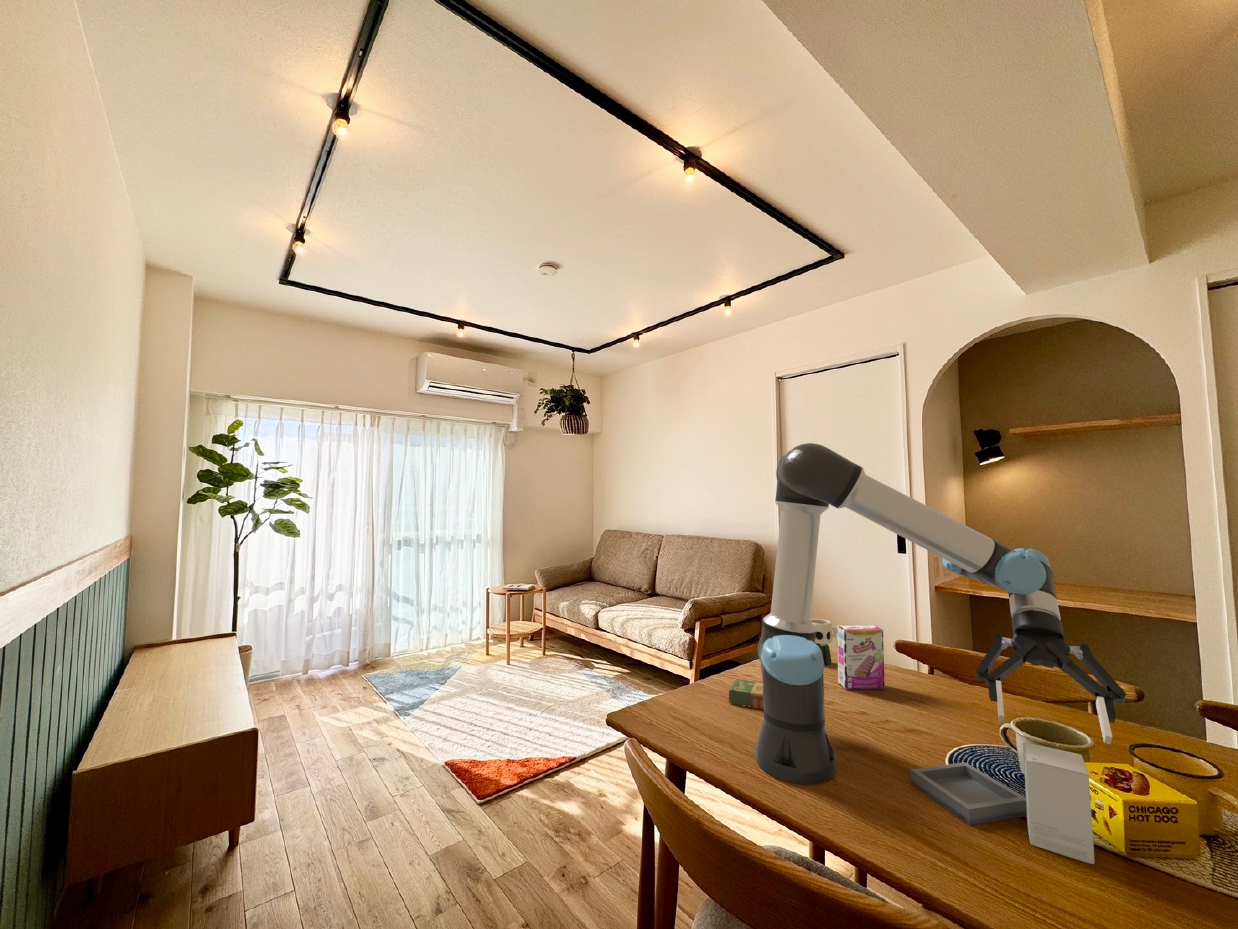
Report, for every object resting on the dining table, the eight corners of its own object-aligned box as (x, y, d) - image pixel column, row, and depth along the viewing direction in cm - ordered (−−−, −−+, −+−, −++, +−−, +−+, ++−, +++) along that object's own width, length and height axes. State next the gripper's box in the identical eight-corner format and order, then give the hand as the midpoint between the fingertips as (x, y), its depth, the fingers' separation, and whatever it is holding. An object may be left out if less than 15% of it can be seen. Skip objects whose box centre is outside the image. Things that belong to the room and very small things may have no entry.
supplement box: (1096, 867, 71) (1090, 775, 72) (1029, 845, 75) (1023, 758, 76) (1088, 838, 77) (1083, 753, 78) (1026, 820, 81) (1022, 740, 82)
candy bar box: (846, 690, 136) (844, 629, 137) (837, 684, 141) (835, 625, 142) (886, 690, 136) (883, 629, 137) (876, 683, 141) (874, 624, 142)
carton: (794, 716, 121) (793, 698, 121) (728, 705, 128) (728, 688, 128) (797, 703, 128) (797, 686, 128) (735, 693, 135) (735, 677, 135)
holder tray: (969, 825, 80) (968, 809, 80) (911, 783, 92) (910, 769, 92) (1029, 815, 82) (1029, 799, 82) (965, 775, 94) (964, 762, 94)
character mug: (808, 667, 155) (807, 624, 156) (799, 659, 162) (798, 619, 163) (843, 666, 155) (841, 623, 156) (832, 658, 162) (830, 618, 163)
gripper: (1122, 640, 92) (1154, 760, 79) (959, 622, 106) (963, 721, 93) (1127, 616, 88) (1163, 739, 75) (957, 601, 102) (961, 702, 89)
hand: (1052, 729), depth 84 cm, fingers open, 13 cm apart
